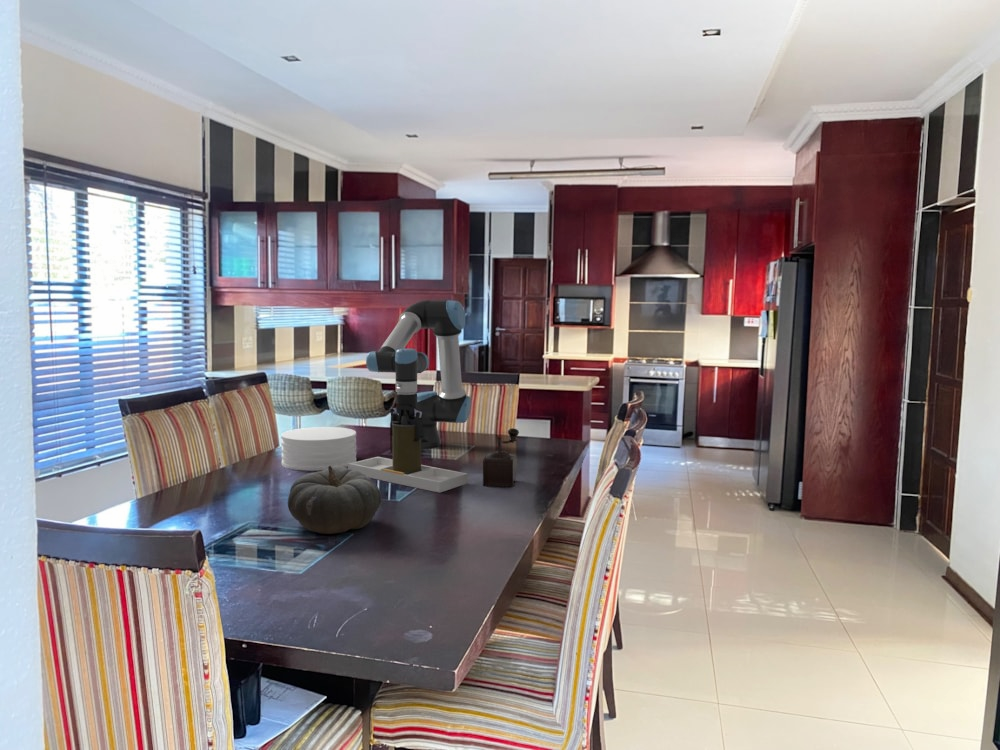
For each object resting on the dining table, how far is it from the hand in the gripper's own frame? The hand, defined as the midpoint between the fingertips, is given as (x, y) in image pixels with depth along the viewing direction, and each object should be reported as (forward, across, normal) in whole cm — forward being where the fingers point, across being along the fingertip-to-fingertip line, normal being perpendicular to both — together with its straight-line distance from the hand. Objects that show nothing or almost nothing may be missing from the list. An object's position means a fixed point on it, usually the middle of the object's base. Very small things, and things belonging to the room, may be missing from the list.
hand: (406, 457), depth 246 cm
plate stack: (+8, -44, -2) cm, 44 cm away
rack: (+7, 0, 0) cm, 7 cm away
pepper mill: (+8, +29, +17) cm, 34 cm away
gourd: (+7, +21, -51) cm, 56 cm away
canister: (+5, 0, 0) cm, 5 cm away
